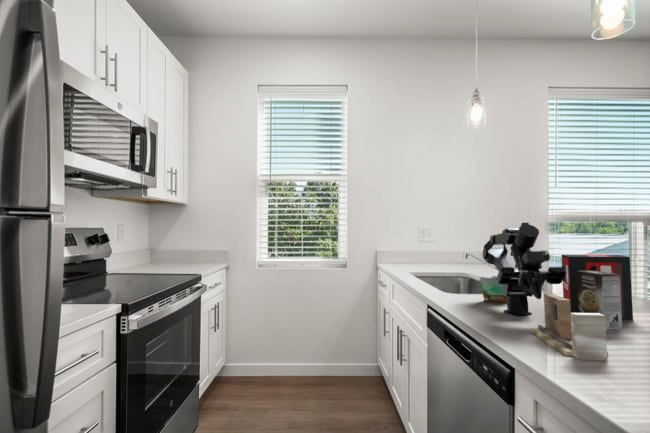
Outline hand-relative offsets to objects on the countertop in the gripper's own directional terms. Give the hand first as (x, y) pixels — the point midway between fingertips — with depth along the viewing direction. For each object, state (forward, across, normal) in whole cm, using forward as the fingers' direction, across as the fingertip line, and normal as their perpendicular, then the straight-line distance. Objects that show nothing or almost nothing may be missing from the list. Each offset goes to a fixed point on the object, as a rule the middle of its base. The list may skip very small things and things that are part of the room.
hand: (539, 298), depth 108 cm
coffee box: (+4, +18, +9) cm, 21 cm away
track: (+17, 0, -5) cm, 18 cm away
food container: (-19, -1, +32) cm, 38 cm away
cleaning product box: (-5, +24, +18) cm, 30 cm away
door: (+13, 0, -2) cm, 13 cm away
